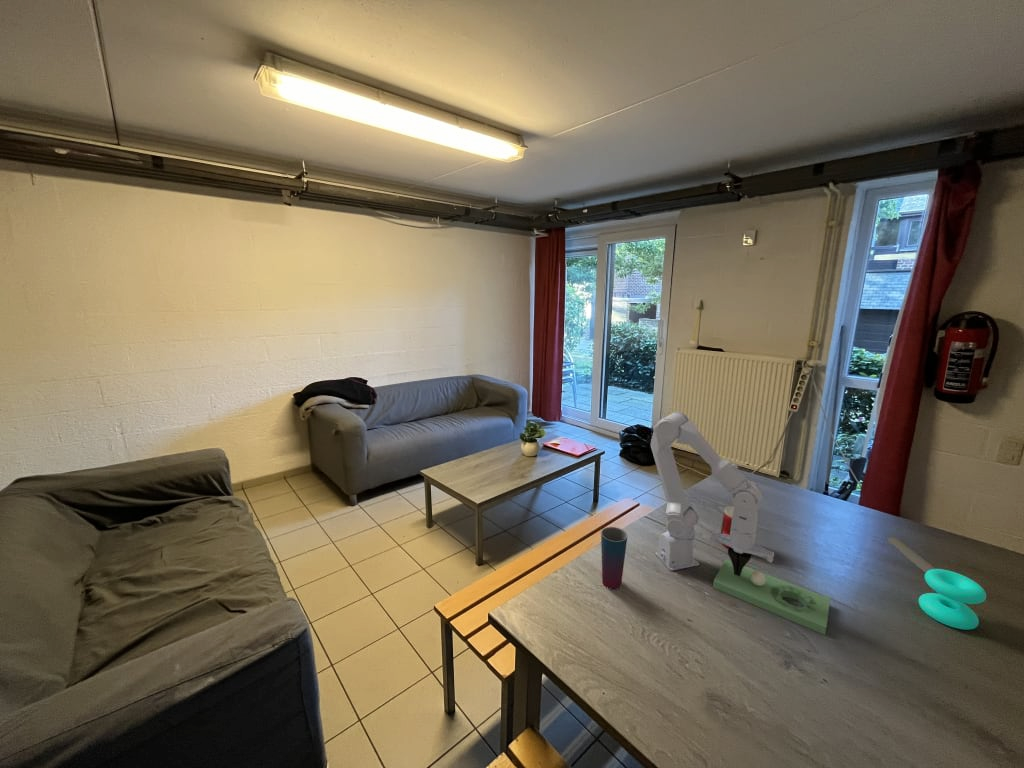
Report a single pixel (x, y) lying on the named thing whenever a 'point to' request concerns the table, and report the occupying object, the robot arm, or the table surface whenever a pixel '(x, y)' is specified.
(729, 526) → the canned food
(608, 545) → the cup
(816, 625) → the green
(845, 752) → the table surface
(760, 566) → the table surface
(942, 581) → the donuts
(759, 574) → the ball
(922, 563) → the half round rod
